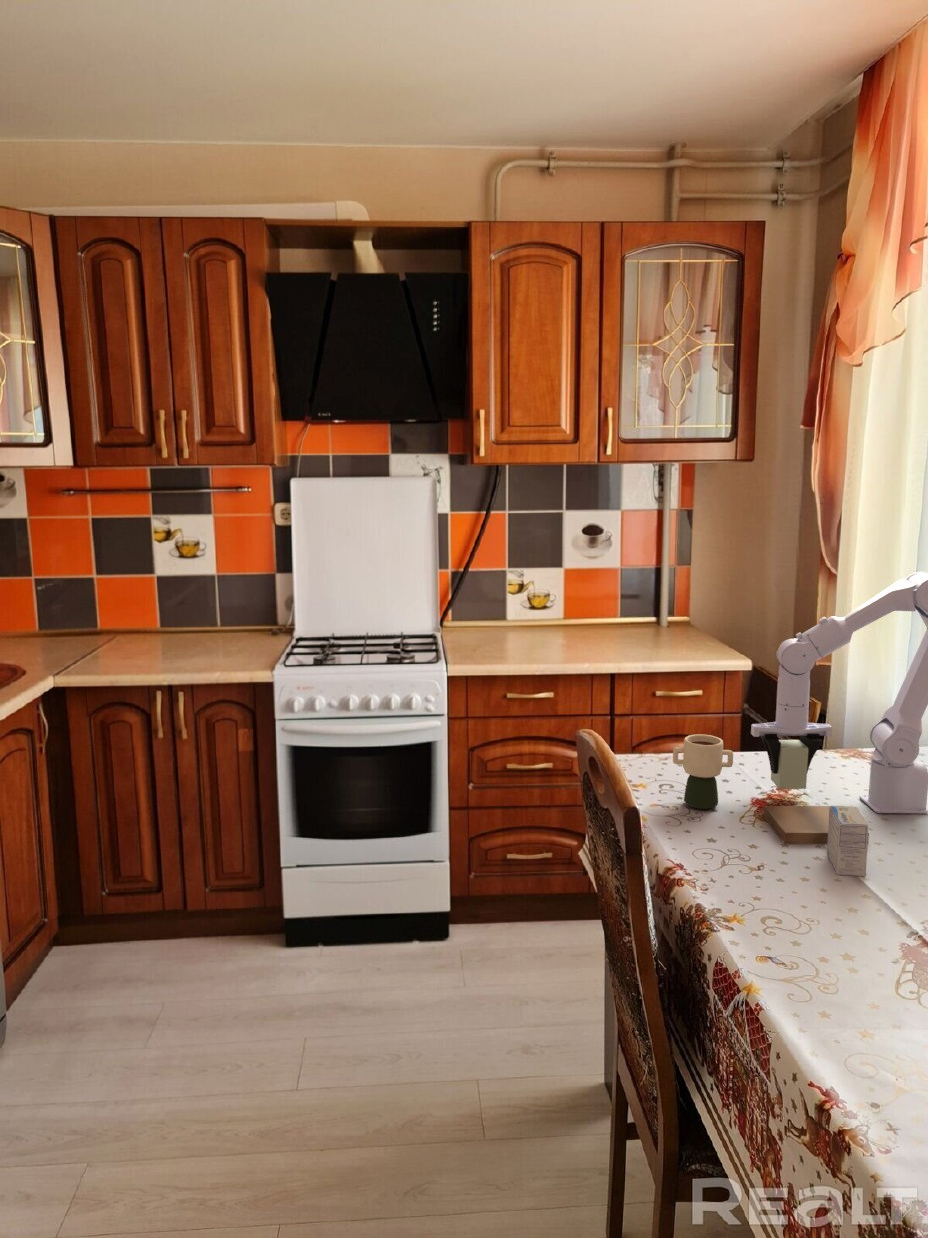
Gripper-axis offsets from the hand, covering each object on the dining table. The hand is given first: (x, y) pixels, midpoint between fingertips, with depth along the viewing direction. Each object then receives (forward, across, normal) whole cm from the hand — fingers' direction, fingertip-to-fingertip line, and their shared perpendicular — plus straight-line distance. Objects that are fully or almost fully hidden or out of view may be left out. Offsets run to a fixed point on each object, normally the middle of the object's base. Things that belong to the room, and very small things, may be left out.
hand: (788, 771), depth 169 cm
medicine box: (+6, 0, +28) cm, 29 cm away
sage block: (+2, 0, 0) cm, 2 cm away
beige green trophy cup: (+6, +17, +3) cm, 18 cm away
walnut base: (+6, 0, +14) cm, 15 cm away
